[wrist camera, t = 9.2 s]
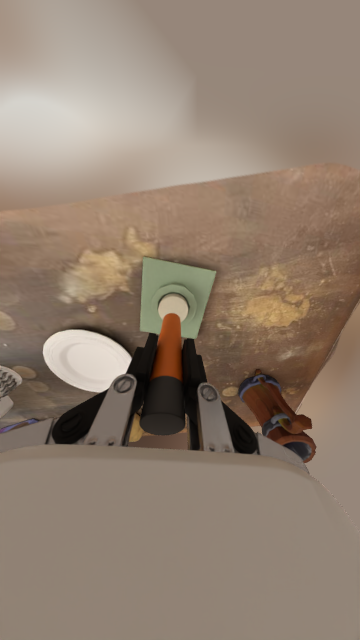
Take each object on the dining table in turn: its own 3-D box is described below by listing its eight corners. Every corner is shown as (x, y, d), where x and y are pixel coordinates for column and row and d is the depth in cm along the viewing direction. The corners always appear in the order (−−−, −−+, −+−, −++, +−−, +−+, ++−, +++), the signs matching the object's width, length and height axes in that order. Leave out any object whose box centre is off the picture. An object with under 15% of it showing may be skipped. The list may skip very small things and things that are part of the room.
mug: (234, 361, 33) (273, 436, 19) (282, 353, 31) (357, 427, 18) (237, 400, 41) (265, 471, 28) (274, 395, 40) (322, 466, 26)
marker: (164, 311, 15) (139, 410, 6) (182, 314, 16) (190, 415, 6) (161, 326, 16) (138, 434, 7) (179, 329, 17) (180, 436, 7)
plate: (137, 331, 28) (134, 336, 26) (137, 389, 38) (135, 395, 36) (35, 319, 26) (25, 323, 25) (63, 383, 36) (58, 389, 34)
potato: (130, 423, 47) (124, 445, 42) (119, 407, 42) (110, 430, 37) (148, 421, 47) (143, 444, 41) (138, 405, 42) (132, 428, 36)
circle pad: (161, 290, 21) (159, 293, 19) (190, 296, 22) (191, 299, 20) (158, 317, 23) (156, 321, 22) (184, 321, 24) (185, 326, 22)
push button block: (145, 256, 21) (140, 257, 18) (214, 270, 22) (219, 272, 19) (141, 327, 27) (137, 335, 25) (195, 335, 28) (197, 343, 26)
